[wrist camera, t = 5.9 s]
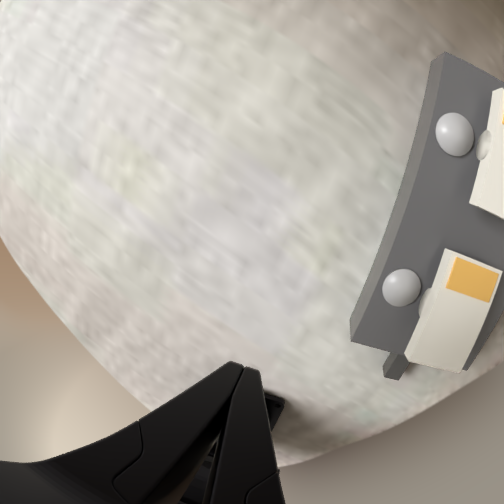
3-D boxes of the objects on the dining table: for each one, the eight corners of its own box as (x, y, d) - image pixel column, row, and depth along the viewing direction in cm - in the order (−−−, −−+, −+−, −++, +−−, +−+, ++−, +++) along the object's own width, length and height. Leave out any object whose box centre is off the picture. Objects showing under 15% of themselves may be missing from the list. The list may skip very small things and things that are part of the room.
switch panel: (437, 379, 20) (444, 403, 17) (333, 353, 21) (332, 378, 19) (543, 124, 12) (566, 125, 10) (431, 61, 13) (446, 50, 11)
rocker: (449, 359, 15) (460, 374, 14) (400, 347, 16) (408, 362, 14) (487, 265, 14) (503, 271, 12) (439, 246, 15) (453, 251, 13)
